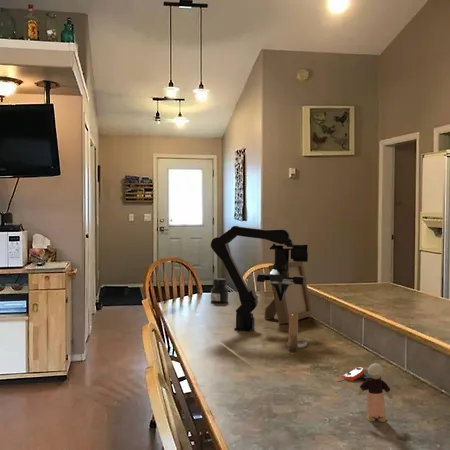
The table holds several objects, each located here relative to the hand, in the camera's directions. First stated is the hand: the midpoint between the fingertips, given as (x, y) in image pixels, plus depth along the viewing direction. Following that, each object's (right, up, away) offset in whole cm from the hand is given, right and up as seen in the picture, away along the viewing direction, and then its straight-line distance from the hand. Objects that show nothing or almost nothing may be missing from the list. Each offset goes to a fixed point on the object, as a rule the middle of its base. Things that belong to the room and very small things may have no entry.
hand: (280, 300), depth 206 cm
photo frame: (+5, -12, +25) cm, 28 cm away
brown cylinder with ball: (+2, -12, -28) cm, 31 cm away
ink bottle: (-25, -10, +66) cm, 71 cm away
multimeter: (+13, -14, -59) cm, 62 cm away
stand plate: (+2, -13, -26) cm, 29 cm away
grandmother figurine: (+12, -15, -87) cm, 89 cm away
